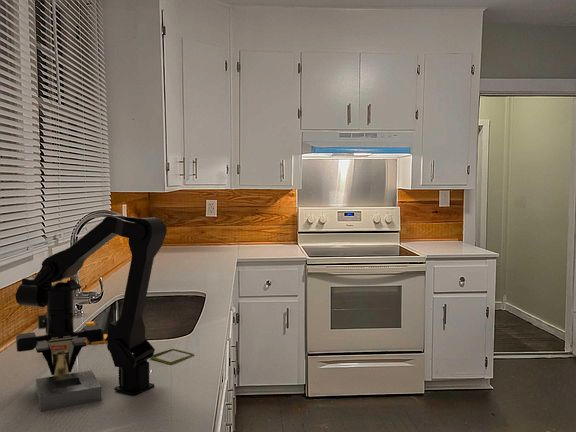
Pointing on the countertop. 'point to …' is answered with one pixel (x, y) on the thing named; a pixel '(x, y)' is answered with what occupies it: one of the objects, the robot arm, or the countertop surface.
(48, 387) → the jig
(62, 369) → the bushing
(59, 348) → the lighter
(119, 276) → the countertop surface
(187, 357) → the olive piece
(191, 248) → the countertop surface
